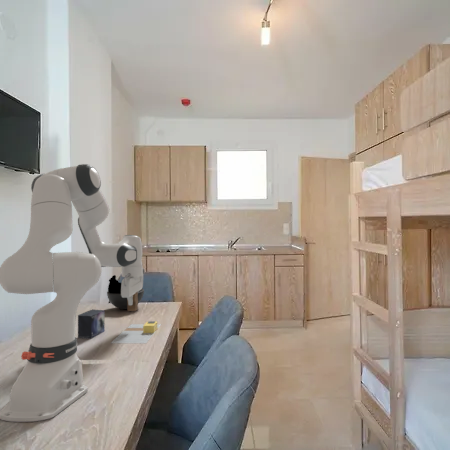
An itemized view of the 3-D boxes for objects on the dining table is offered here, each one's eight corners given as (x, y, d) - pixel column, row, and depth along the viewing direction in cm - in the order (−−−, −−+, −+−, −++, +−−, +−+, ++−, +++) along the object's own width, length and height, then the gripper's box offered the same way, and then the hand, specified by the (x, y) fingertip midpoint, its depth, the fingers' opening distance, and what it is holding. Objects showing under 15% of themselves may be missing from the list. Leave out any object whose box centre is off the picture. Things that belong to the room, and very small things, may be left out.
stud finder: (154, 332, 148) (153, 325, 148) (143, 332, 148) (143, 325, 148) (157, 328, 155) (157, 320, 155) (147, 328, 155) (147, 320, 155)
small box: (91, 341, 141) (91, 315, 141) (77, 341, 143) (76, 315, 143) (105, 333, 152) (105, 309, 152) (91, 333, 153) (91, 309, 153)
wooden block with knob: (135, 310, 152) (135, 288, 152) (127, 310, 152) (127, 288, 152) (137, 308, 155) (137, 287, 155) (129, 308, 156) (129, 287, 155)
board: (146, 346, 135) (146, 343, 135) (110, 346, 136) (110, 343, 136) (161, 326, 161) (161, 324, 161) (131, 326, 162) (131, 324, 162)
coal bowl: (151, 307, 200) (151, 274, 200) (124, 314, 184) (124, 278, 184) (127, 303, 211) (126, 272, 211) (99, 310, 194) (98, 276, 194)
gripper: (132, 275, 143) (132, 309, 143) (145, 269, 164) (145, 298, 164) (116, 275, 143) (117, 309, 143) (132, 269, 164) (132, 298, 164)
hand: (132, 303), depth 154 cm, fingers closed on wooden block with knob, 3 cm apart
